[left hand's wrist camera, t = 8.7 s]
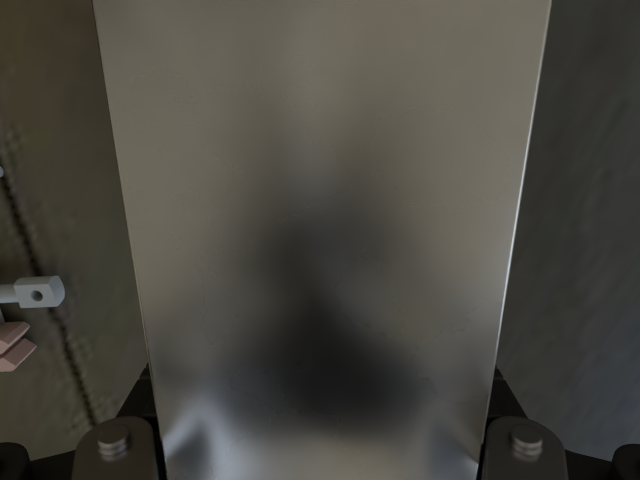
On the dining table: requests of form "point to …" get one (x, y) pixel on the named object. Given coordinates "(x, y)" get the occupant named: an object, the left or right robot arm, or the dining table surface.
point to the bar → (322, 224)
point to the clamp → (46, 291)
